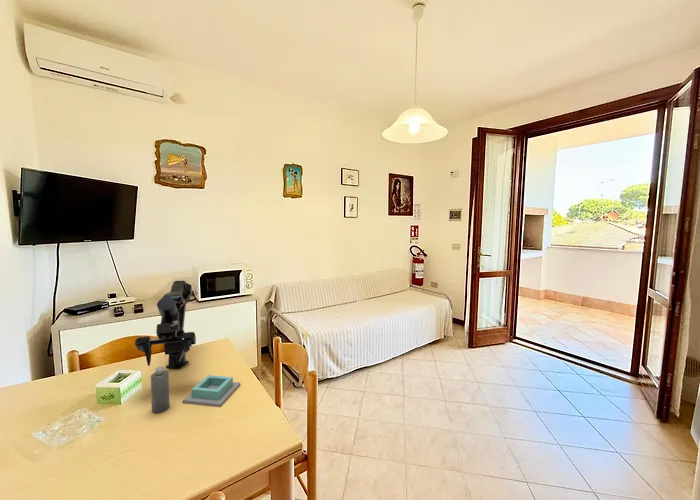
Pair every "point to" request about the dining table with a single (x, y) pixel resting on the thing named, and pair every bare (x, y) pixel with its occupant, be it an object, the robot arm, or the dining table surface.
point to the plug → (160, 390)
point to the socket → (212, 391)
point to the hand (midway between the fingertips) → (164, 363)
